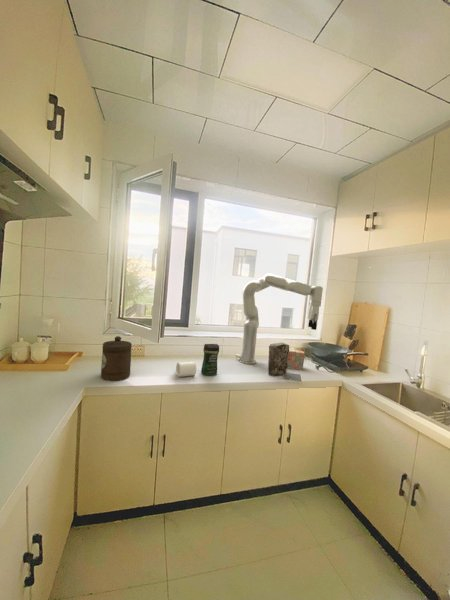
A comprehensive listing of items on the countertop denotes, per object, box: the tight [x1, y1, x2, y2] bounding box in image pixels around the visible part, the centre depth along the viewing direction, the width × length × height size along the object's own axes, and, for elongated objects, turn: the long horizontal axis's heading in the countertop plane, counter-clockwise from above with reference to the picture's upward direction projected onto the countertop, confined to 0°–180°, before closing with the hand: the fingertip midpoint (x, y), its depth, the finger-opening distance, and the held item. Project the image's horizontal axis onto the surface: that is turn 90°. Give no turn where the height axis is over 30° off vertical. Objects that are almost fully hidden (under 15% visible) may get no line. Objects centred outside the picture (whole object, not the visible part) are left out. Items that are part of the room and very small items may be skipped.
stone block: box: [267, 342, 290, 377], centre depth 167 cm, size 13×7×20 cm, turn 128°
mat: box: [282, 371, 302, 382], centre depth 166 cm, size 11×12×1 cm
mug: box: [175, 361, 197, 378], centre depth 153 cm, size 12×10×8 cm
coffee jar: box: [200, 343, 220, 376], centre depth 157 cm, size 10×8×19 cm
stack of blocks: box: [287, 348, 306, 370], centre depth 187 cm, size 21×6×12 cm, turn 85°
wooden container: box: [100, 335, 132, 382], centre depth 140 cm, size 15×15×22 cm
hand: (312, 328), depth 178 cm, fingers open, 9 cm apart
